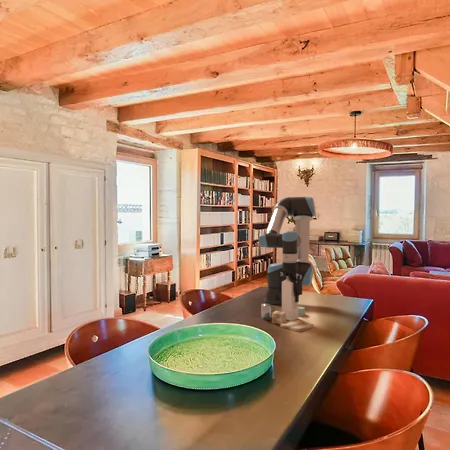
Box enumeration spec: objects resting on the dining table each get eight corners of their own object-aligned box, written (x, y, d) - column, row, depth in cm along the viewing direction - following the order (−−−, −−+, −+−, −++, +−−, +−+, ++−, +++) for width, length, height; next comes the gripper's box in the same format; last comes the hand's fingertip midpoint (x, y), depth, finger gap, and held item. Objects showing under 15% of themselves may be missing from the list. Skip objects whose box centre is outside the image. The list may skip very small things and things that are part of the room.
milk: (298, 318, 188) (298, 275, 188) (291, 321, 184) (291, 277, 183) (288, 316, 193) (289, 274, 192) (281, 318, 189) (281, 275, 188)
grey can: (259, 318, 190) (259, 304, 190) (265, 316, 193) (265, 302, 193) (266, 320, 186) (266, 306, 186) (273, 318, 190) (273, 304, 189)
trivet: (280, 326, 175) (280, 324, 175) (294, 321, 183) (294, 319, 183) (299, 332, 167) (299, 329, 167) (313, 326, 175) (313, 324, 175)
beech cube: (271, 323, 182) (271, 312, 182) (276, 320, 186) (276, 310, 186) (281, 324, 179) (281, 314, 179) (285, 322, 183) (285, 312, 183)
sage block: (289, 314, 197) (289, 307, 196) (293, 312, 200) (293, 305, 200) (302, 316, 193) (302, 309, 192) (305, 314, 196) (305, 307, 196)
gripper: (270, 260, 192) (270, 305, 193) (301, 264, 178) (301, 312, 179) (279, 259, 197) (280, 302, 198) (310, 262, 183) (310, 309, 184)
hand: (290, 307), depth 188 cm, fingers closed on milk, 6 cm apart
